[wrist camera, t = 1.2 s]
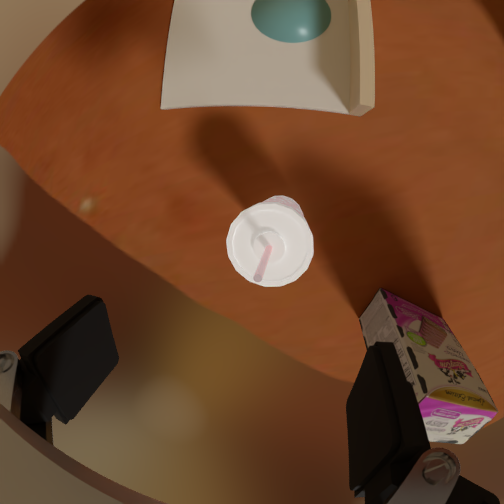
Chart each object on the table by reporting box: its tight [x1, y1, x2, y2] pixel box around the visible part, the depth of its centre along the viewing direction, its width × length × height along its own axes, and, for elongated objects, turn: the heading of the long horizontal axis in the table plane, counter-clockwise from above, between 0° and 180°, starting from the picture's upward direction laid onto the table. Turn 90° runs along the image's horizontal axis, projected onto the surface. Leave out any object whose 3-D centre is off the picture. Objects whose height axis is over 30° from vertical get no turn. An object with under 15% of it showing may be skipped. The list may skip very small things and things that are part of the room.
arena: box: [161, 0, 375, 116], centre depth 18 cm, size 20×18×6 cm
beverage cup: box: [226, 196, 313, 287], centre depth 21 cm, size 6×6×14 cm
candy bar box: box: [359, 288, 498, 444], centre depth 21 cm, size 11×5×16 cm, turn 68°
